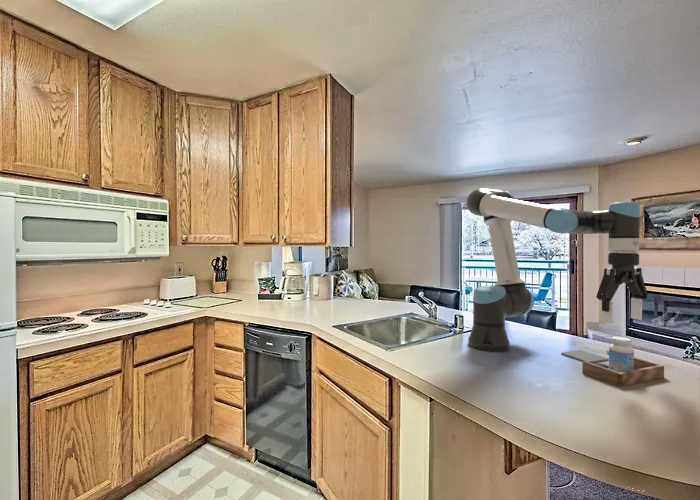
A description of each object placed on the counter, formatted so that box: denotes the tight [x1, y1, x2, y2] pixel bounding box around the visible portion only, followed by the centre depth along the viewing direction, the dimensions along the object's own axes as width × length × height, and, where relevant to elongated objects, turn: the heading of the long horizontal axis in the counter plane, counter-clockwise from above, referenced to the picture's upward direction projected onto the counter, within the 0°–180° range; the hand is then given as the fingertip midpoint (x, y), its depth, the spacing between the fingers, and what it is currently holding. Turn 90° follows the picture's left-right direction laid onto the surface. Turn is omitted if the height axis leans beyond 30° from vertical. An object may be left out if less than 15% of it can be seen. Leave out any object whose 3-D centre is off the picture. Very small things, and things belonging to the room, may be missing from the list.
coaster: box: [560, 349, 609, 364], centre depth 122 cm, size 10×10×1 cm
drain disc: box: [594, 362, 609, 369], centre depth 113 cm, size 4×4×1 cm
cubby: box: [581, 356, 665, 387], centre depth 106 cm, size 20×11×4 cm, turn 110°
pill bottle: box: [608, 336, 635, 372], centre depth 106 cm, size 6×6×11 cm
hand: (622, 320), depth 106 cm, fingers open, 13 cm apart
